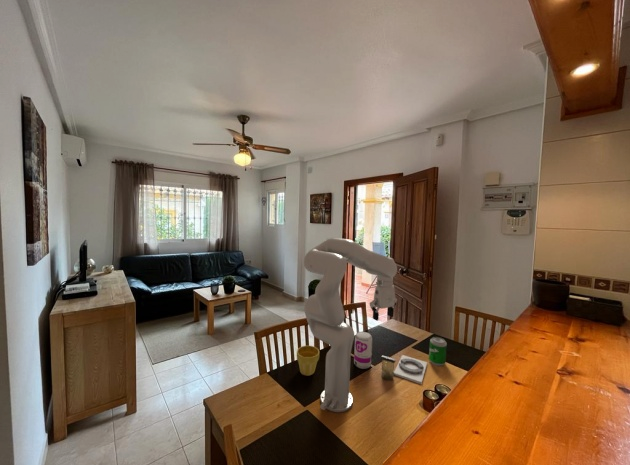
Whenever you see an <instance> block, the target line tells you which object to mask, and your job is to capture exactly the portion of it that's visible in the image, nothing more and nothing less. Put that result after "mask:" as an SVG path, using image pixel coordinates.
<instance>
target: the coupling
mask: <svg viewBox="0 0 630 465" xmlns="http://www.w3.org/2000/svg"><path fill="white" fill-rule="evenodd" d="M380 358H381V362H382V364H381V378H382V379H383V380H384V381H389V382H390V381H393V380H394V376H395V375H394V371H395V363H396V358H392V357H390V356H386V355H381V357H380Z"/></svg>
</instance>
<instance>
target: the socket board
mask: <svg viewBox="0 0 630 465" xmlns="http://www.w3.org/2000/svg"><path fill="white" fill-rule="evenodd" d="M427 366H428V362H427V361H424V360H421V359H418V358H414V357H412V356H411V357H410V356H408V355H404V354H401V356H400V358H399V361H398V363H397V366H396V367H395V368H394V376H396V377H398V378H402V379H405V380H408V381H411V382H413V383H417V384H418V385H419V384H420V385H422V384H423V381H424V377H425V373H426V370H427V368H428V367H427Z"/></svg>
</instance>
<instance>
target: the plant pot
mask: <svg viewBox="0 0 630 465" xmlns="http://www.w3.org/2000/svg"><path fill="white" fill-rule="evenodd" d="M296 360H297V362H298V366H299V372H300V373H301V375H302V376H311V375H313V374H314V373H315V371H316V367H317V363H318V361H319V360H320V349H319V348H318V347H317V346H314V345H303V346H300V347H298V348H297V350H296Z"/></svg>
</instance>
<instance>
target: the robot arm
mask: <svg viewBox="0 0 630 465" xmlns="http://www.w3.org/2000/svg"><path fill="white" fill-rule="evenodd" d="M348 264H349V265H352V266H353V267H355V268H358V269H360V270H365V272H366V273H367V274H369V275H372V276H373V275H374V276H376V281H375V284H376V286H375V289H374V294H373V300H371V301H370V302H369V308H370V309H371V311H372V320H375V321H377V322H378V321H379V316H380V315H379V314H380V312H379V310H380V309H381V310H382V309H387V313H386V314H387V316H389V317H391V318H393V317H394V309H395V306H396V305H397V302H398V298H397V297H396V290H395V286H394V277H395V276H396V275H397V272H398V265H397V263H396V262H395V260H394V258H393V257H389V256H385V255H383V254H381V253H377V252H374V251H372V250H369V249H367V248H365V247H363V245H361V244H359V243H357V242H355V241H354V240H352V239H346V238H340V237H330V238H328V239H326V240H324V241H322V242H321V243H319V244H317V245H316V246H315V247H313V248H312V249H310V250H308V252H307V253H306V254H305V256H304V259H303V267H304V268H305V270H306V271H308V272H310V273H312V274H315V275H320V276H322V278H321V279H320V281H319V283H317V285H316V287H315V289H314V290H315V292H314V294H311V295H309V297H308V298H307V299H306V301H305V304H304V315H305V318H306V321H307V324H308V326H309V329H310V332H311V334H312V336H313V337H314V338H315V339H317V340H319V341H322V342H323V343H325V344H327V345H329V346H330V349H329V350H328V351H327V352H326V355H325V366H324V367H325V372H324V374H325V375H324V376H325V377H324V390H323V391H322V392H321V394H320V399H319V401H320V403H321V404H320V405H319V406H320V409H321V410H323V411H325V410H328V411H329V412H333V413H343V412H346V411H348V410H350V409H351V408H352V406H353V401H354V399H353V395H352V394H351V393H350V383H351V380H350V378H351V357H352V348H353V344H354V341H355V331H354V329H353V327H352V326H351V325H350V324H348V323H346V322H345V321H344V320H345V311H344V307H343V306H344V305H343V302H342V299H341V295H340V289H339V288H340V287H341V286H340V285H341V283H342V281H343V278H344V276H345V274H346V272H347V267H348Z"/></svg>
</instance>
